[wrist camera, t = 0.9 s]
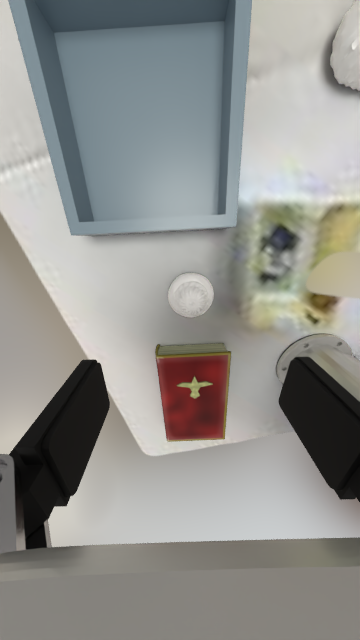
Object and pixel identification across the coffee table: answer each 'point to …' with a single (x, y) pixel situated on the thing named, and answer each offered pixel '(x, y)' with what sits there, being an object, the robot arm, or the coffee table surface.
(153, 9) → the bin
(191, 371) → the hardcover book
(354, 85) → the white creature statuette
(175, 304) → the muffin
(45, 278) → the coffee table surface
